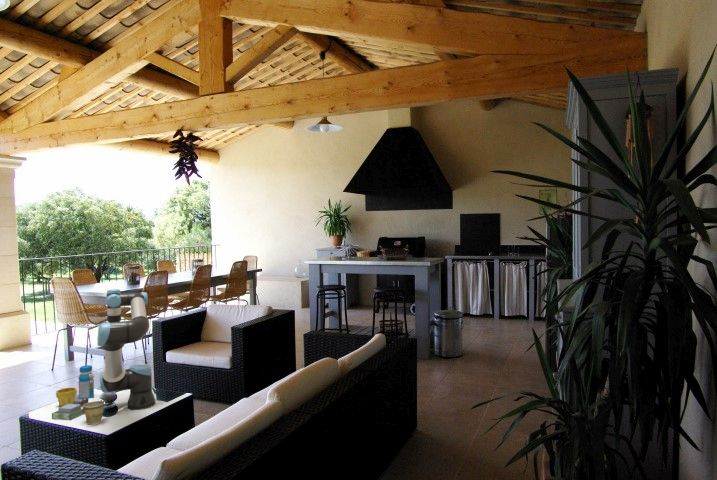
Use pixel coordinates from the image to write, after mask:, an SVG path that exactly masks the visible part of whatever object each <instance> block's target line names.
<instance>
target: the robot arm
mask: <svg viewBox="0 0 717 480" xmlns="http://www.w3.org/2000/svg"><path fill="white" fill-rule="evenodd" d="M148 297H149V296H148V293H147V292H145V291H142V292H141V291H139V292H130V293H129V292H125V293H121V289H119V288H113V289H112V288H111V289H107V291H106V299H105V300H106V308H107V309H106V310H107V311H106V314H107V317H106V318H107V321H106V322H103V323H100V324H99V326H98V330H97V339H96V341H97V346H98V347H101V349H102V350H103V351H104V367H105V368H104V370H103V371H102V372H100V373H99V384H100V389H101V391H102V393H105V394H106V393H107V394H109V393H115V392H121V391H128V390H129V392H130V393H129V397H128V400H127V403H126V409H127V410H132V411H133V410H134V411H137V410H145V409H149V408H151V406H152V407H154V406H155V405H156V398H155V395H154V392H153V381H152V378H153V377H152V375H153V373H152V368H151V366H149V365H146V364H132V365H130V366H129V368H125V367H124V366H123V347H124V346H125V344H133V343H136V342H139V340H142V339H143V338H144V337H145V336H146V334H147V333H148V332H149V330H150V320H149V318H148V317H147V311H146V305H147V304H148V303H149V298H148ZM122 307H130V313H131V314H130V315H131V316H130V317H131V320H123V321H122V315H121V314H122ZM154 404H155V405H154ZM153 405H154V406H153ZM148 407H149V408H148Z"/></svg>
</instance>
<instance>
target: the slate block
mask: <svg viewBox="0 0 717 480" xmlns="http://www.w3.org/2000/svg"><path fill="white" fill-rule="evenodd" d="M80 409H81V405H80V404H75V403H74V404H67V405H65V406H59V407H58V410H57V411H59V413H62V414H71V413H74V412H76V411H78V410H80Z"/></svg>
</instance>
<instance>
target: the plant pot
mask: <svg viewBox="0 0 717 480" xmlns="http://www.w3.org/2000/svg"><path fill="white" fill-rule="evenodd" d="M77 391H78V390H77V387H64V388H60V389H58V390H56V392H55V397H56V398H57V401H58V405H59V407H62V406H65V405H67V404H75V398H76V395H77Z"/></svg>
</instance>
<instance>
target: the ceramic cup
mask: <svg viewBox="0 0 717 480" xmlns="http://www.w3.org/2000/svg"><path fill="white" fill-rule="evenodd" d="M104 402H105V404H104ZM106 404H107V402H106V400H105V401H101V400H95V401H88V403H86V404H84V405H83V409H84V413H85V414H84V415H85V419H86V423H87V426H94V425H95V426H96V425H98V424H100V423H102V420H103V412H104V408H105V406H106Z"/></svg>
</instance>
